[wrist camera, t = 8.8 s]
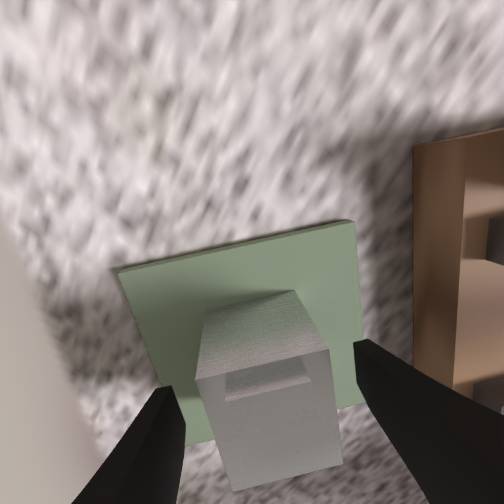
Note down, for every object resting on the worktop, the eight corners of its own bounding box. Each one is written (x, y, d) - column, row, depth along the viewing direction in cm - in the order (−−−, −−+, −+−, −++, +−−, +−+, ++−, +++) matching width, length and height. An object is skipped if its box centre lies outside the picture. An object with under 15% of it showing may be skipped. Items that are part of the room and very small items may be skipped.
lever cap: (308, 377, 13) (351, 483, 8) (230, 396, 13) (233, 514, 8) (294, 289, 11) (338, 363, 7) (205, 309, 11) (192, 397, 7)
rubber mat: (362, 392, 14) (368, 401, 14) (187, 435, 14) (185, 446, 13) (348, 219, 11) (355, 221, 11) (123, 268, 11) (117, 273, 10)
